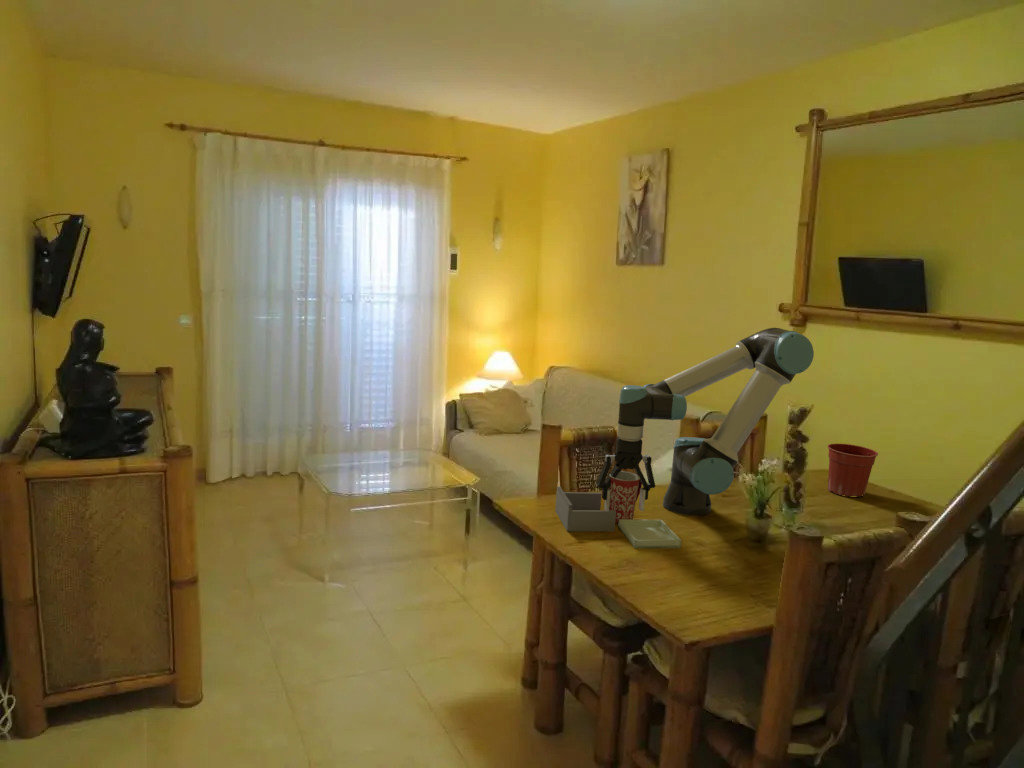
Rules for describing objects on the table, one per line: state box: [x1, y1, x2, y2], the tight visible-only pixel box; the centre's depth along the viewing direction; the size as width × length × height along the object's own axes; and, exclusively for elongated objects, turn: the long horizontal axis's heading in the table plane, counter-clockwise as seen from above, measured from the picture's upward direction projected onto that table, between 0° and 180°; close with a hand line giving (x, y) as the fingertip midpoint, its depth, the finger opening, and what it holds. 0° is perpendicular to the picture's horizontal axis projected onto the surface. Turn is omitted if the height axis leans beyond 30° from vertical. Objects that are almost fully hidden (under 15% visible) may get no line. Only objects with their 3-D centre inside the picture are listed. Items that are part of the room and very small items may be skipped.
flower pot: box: [827, 443, 879, 496], centre depth 260 cm, size 16×16×16 cm
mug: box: [608, 470, 643, 523], centre depth 218 cm, size 13×9×14 cm
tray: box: [617, 518, 682, 549], centre depth 208 cm, size 13×16×2 cm
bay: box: [554, 486, 616, 532], centre depth 217 cm, size 14×17×8 cm
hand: (623, 509), depth 219 cm, fingers closed on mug, 10 cm apart
